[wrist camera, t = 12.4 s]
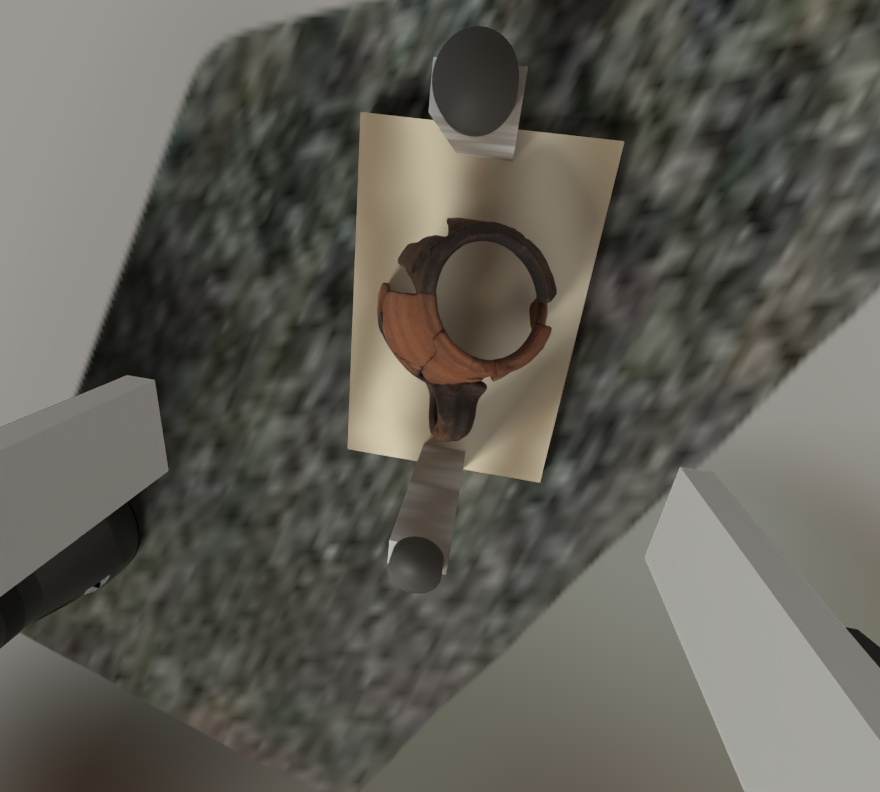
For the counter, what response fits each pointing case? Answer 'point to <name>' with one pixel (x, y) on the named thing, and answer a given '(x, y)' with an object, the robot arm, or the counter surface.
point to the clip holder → (469, 280)
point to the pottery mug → (426, 341)
